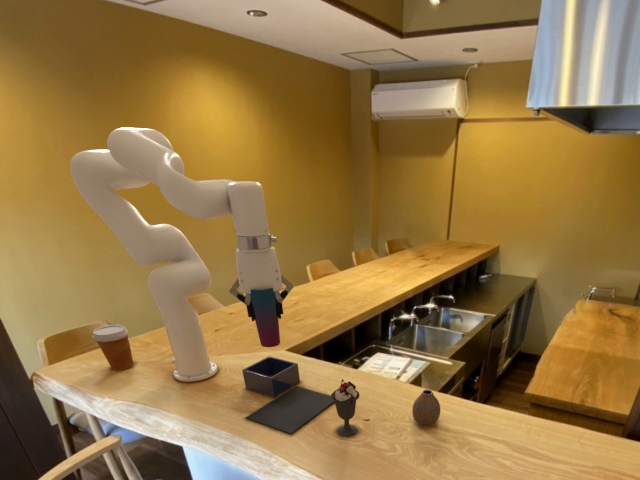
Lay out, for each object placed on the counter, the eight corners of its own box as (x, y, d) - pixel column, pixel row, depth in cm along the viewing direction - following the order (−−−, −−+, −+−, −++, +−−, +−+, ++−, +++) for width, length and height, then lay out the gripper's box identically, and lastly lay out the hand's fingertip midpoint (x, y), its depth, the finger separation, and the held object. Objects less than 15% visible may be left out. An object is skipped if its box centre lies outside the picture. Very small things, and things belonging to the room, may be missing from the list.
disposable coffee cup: (120, 374, 129) (106, 337, 123) (98, 369, 132) (83, 332, 126) (146, 362, 137) (133, 326, 130) (124, 358, 140) (111, 322, 133)
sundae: (340, 441, 99) (335, 385, 90) (329, 428, 104) (324, 372, 95) (365, 434, 101) (363, 378, 93) (354, 421, 106) (351, 367, 98)
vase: (442, 418, 108) (444, 387, 103) (435, 432, 102) (438, 400, 97) (416, 413, 109) (417, 383, 105) (408, 427, 104) (409, 396, 99)
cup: (277, 349, 109) (268, 290, 100) (253, 347, 110) (242, 289, 101) (287, 340, 114) (279, 283, 106) (264, 338, 115) (254, 282, 107)
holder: (245, 388, 121) (241, 369, 118) (272, 374, 129) (269, 356, 126) (274, 397, 117) (271, 378, 113) (300, 382, 125) (297, 363, 121)
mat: (245, 418, 108) (245, 417, 107) (296, 387, 122) (296, 385, 122) (291, 434, 101) (290, 433, 101) (338, 399, 116) (338, 398, 116)
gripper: (290, 238, 103) (298, 311, 113) (216, 242, 99) (232, 316, 109) (293, 243, 97) (301, 319, 107) (214, 247, 93) (231, 326, 103)
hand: (266, 317), depth 108 cm, fingers closed on cup, 6 cm apart
